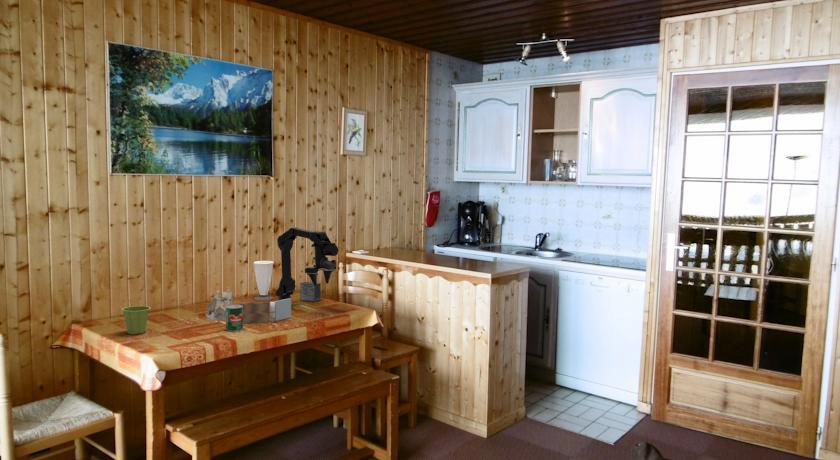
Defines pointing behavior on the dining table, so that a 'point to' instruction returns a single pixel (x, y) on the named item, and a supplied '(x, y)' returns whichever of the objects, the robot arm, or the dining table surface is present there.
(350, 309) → the dining table surface
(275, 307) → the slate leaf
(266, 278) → the cup
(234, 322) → the canned tomato
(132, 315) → the plant pot
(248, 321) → the walnut leaf
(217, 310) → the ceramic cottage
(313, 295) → the small box
